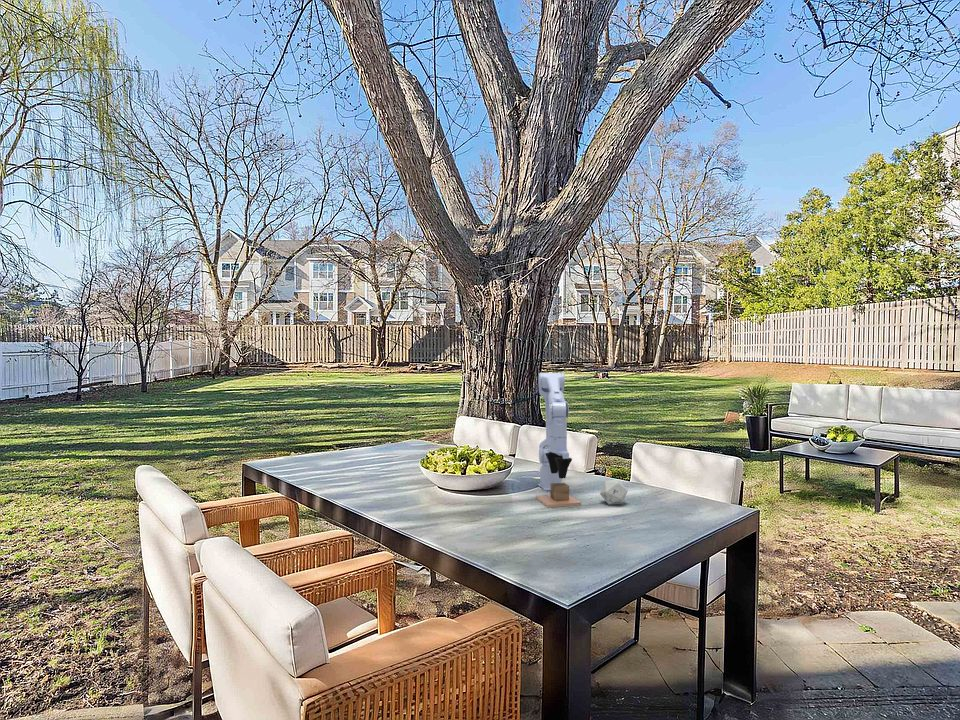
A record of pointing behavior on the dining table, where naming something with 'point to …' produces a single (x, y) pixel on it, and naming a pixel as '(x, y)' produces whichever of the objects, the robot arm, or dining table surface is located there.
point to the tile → (551, 503)
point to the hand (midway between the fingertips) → (558, 475)
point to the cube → (559, 491)
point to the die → (613, 492)
